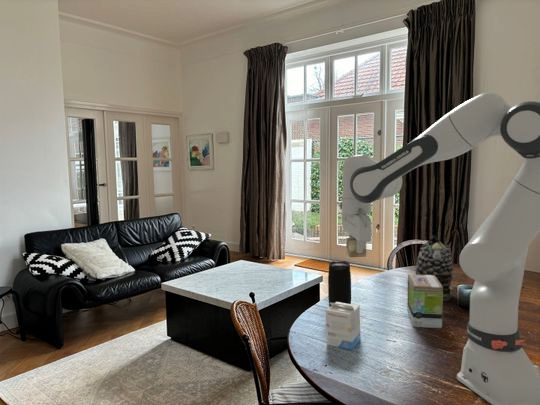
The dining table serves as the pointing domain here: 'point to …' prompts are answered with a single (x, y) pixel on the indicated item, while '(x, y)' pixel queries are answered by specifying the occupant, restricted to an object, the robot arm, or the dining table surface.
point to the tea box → (425, 301)
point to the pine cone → (436, 264)
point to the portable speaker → (339, 282)
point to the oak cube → (354, 248)
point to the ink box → (343, 325)
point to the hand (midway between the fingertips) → (356, 249)
